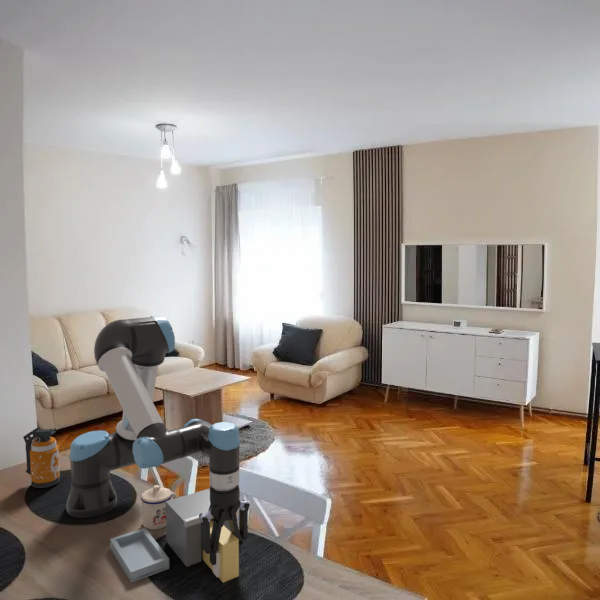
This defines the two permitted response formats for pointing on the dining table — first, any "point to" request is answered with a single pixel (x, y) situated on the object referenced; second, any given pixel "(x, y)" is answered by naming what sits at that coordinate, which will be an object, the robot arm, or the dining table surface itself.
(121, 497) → the dining table surface
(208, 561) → the yellow cuboid
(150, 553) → the tray
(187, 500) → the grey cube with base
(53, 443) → the canister
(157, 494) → the teacup with lid
